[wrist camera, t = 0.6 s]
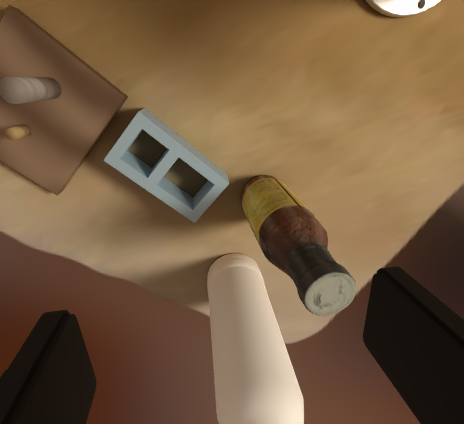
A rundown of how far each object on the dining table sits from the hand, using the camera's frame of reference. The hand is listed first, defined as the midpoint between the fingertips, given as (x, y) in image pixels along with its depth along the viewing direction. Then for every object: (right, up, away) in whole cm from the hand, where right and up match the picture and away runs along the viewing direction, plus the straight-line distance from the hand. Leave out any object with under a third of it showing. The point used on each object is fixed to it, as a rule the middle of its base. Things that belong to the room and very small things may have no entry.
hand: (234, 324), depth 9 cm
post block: (-21, +14, +22) cm, 34 cm away
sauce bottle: (+4, +6, +30) cm, 31 cm away
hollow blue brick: (-7, +10, +26) cm, 29 cm away
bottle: (0, -6, +34) cm, 35 cm away
